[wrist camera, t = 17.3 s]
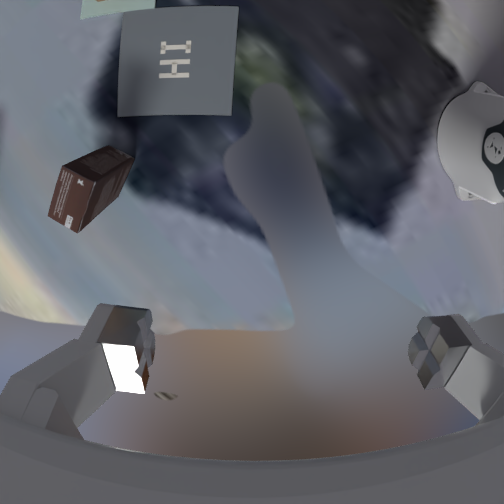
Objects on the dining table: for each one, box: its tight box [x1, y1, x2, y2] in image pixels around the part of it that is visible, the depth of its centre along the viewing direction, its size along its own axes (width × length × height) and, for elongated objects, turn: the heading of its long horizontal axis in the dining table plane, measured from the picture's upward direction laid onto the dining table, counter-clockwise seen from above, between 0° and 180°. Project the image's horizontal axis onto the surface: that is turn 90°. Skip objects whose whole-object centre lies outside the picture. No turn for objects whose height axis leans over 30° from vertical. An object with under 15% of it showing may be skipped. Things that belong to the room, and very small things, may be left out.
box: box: [48, 145, 134, 233], centre depth 32 cm, size 6×4×12 cm
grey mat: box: [118, 6, 239, 117], centre depth 32 cm, size 14×14×1 cm
